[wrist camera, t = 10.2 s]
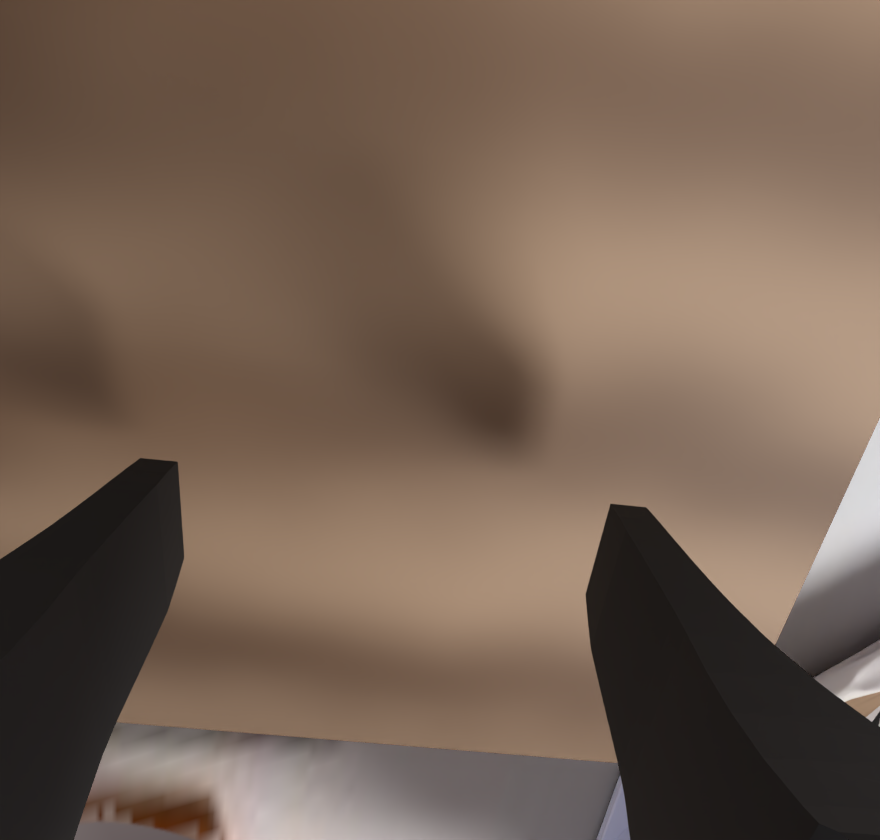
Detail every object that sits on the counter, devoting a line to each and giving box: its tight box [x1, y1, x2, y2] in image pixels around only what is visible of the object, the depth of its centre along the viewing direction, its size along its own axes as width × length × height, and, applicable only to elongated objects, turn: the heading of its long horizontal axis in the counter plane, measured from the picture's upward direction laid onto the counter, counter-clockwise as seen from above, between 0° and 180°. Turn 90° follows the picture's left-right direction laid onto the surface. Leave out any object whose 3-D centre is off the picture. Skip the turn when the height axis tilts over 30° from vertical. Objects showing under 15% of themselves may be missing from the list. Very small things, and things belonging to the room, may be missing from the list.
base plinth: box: [0, 0, 880, 763], centre depth 17 cm, size 18×18×3 cm
